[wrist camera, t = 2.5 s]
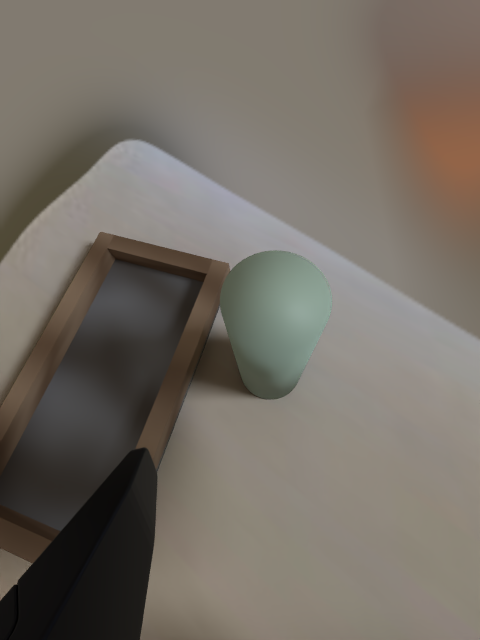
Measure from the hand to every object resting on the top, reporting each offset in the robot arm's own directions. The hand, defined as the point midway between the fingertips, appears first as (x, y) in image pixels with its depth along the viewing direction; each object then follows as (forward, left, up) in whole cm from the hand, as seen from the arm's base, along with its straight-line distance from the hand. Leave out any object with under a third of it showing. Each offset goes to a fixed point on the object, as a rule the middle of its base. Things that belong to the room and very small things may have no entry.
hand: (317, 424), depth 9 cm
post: (+4, +2, -12) cm, 13 cm away
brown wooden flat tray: (0, +12, -12) cm, 17 cm away
